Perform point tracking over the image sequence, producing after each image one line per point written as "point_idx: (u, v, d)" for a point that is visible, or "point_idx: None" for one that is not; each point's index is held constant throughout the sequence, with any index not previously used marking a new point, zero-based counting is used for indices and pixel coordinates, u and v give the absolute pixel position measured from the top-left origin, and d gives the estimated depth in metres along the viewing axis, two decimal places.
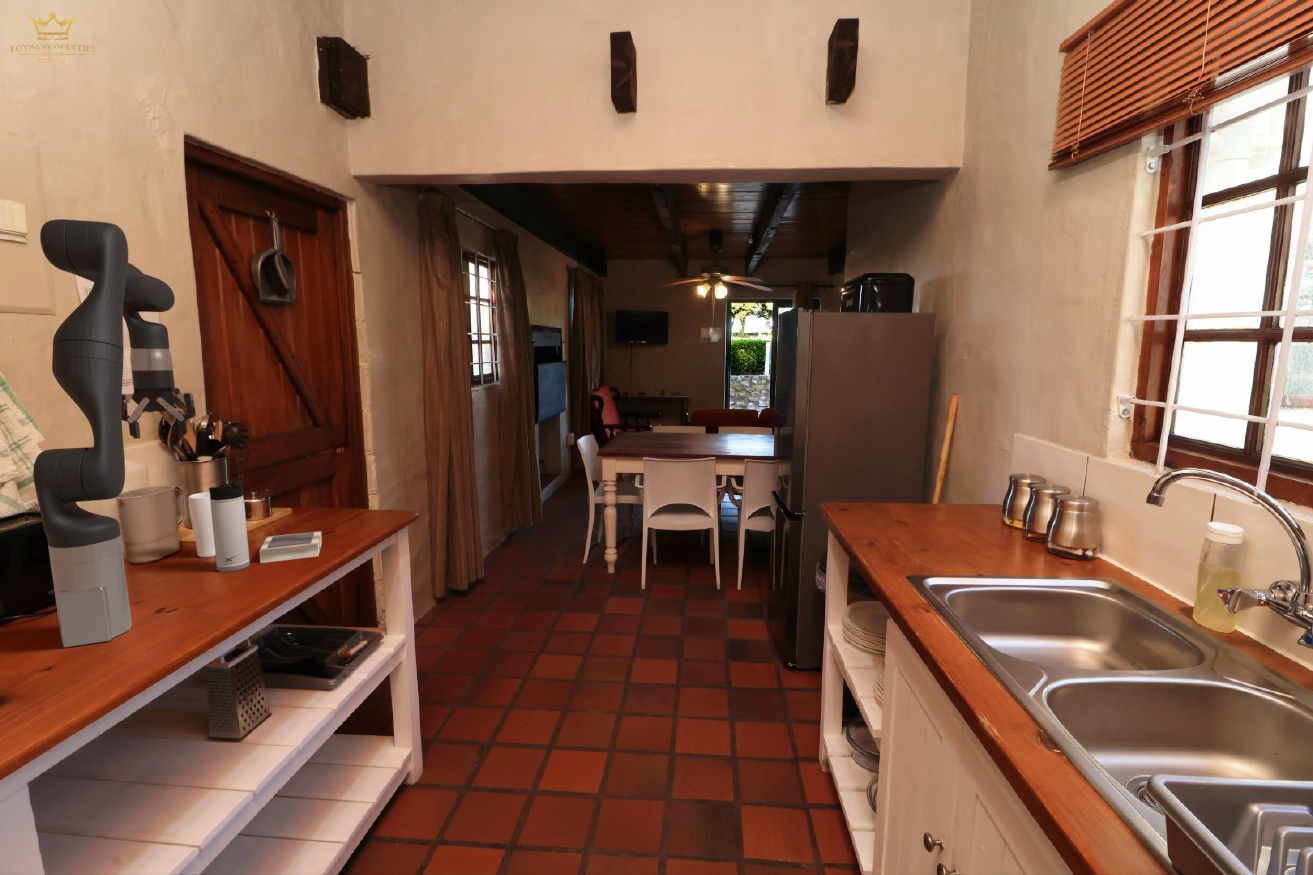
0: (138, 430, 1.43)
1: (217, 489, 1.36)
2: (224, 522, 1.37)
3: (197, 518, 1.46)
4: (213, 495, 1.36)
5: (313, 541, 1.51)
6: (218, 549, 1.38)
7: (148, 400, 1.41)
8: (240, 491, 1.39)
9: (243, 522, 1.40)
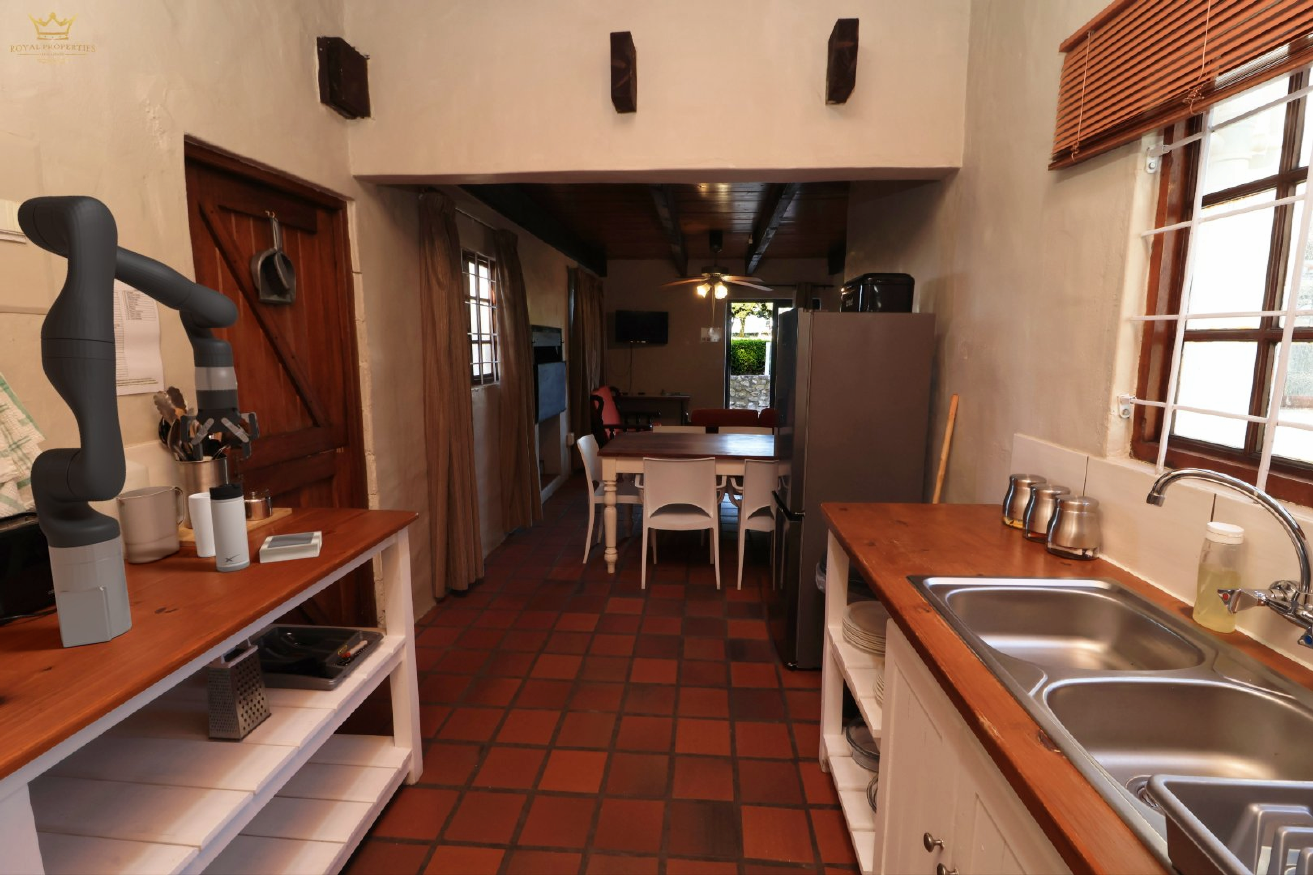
0: (201, 452, 1.36)
1: (217, 489, 1.36)
2: (224, 522, 1.37)
3: (197, 518, 1.46)
4: (213, 495, 1.36)
5: (313, 541, 1.51)
6: (218, 549, 1.38)
7: (212, 421, 1.34)
8: (240, 491, 1.39)
9: (243, 522, 1.40)
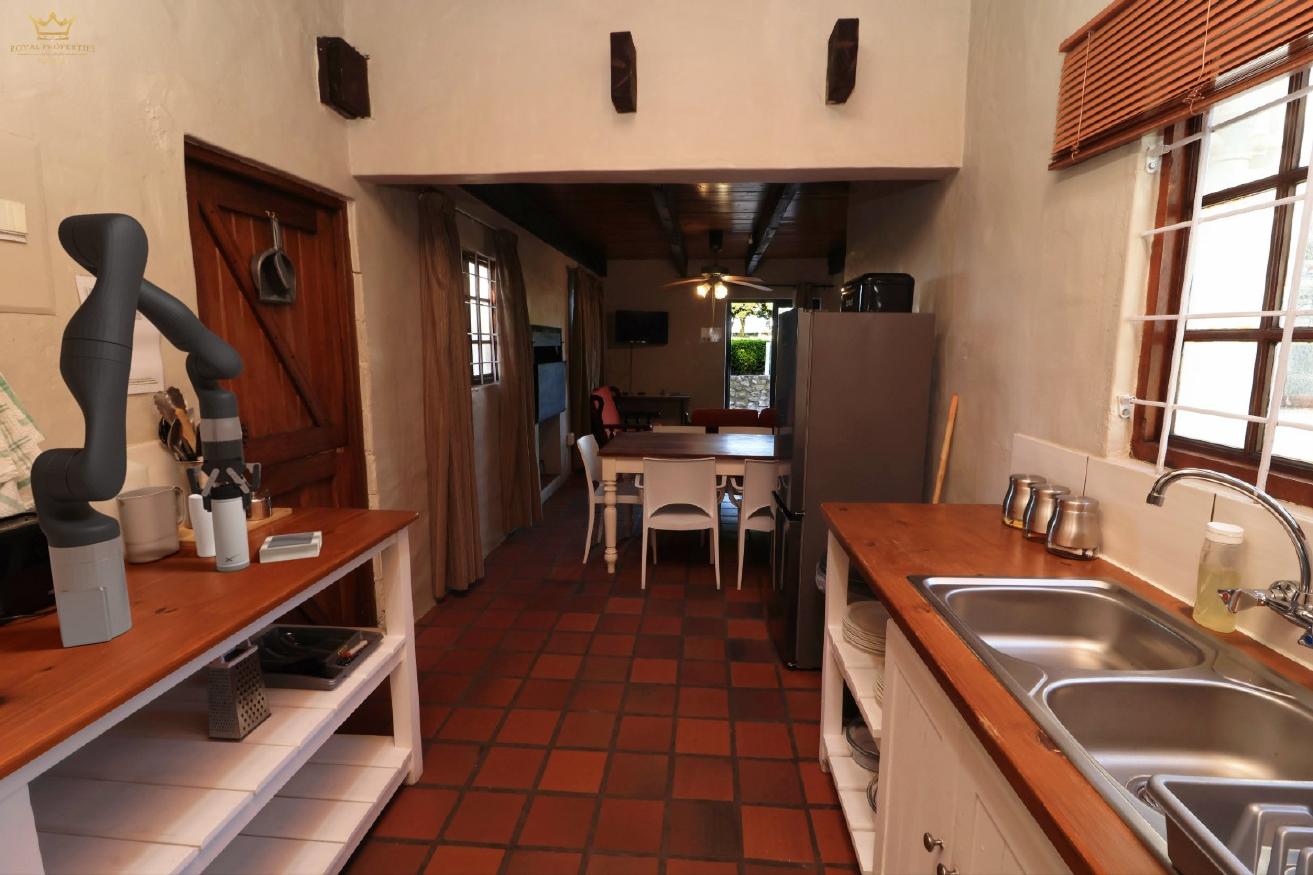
0: None
1: (218, 489, 1.36)
2: (225, 522, 1.37)
3: (197, 518, 1.46)
4: (214, 495, 1.36)
5: (313, 541, 1.51)
6: (219, 549, 1.38)
7: (218, 470, 1.36)
8: (241, 491, 1.39)
9: (243, 522, 1.40)
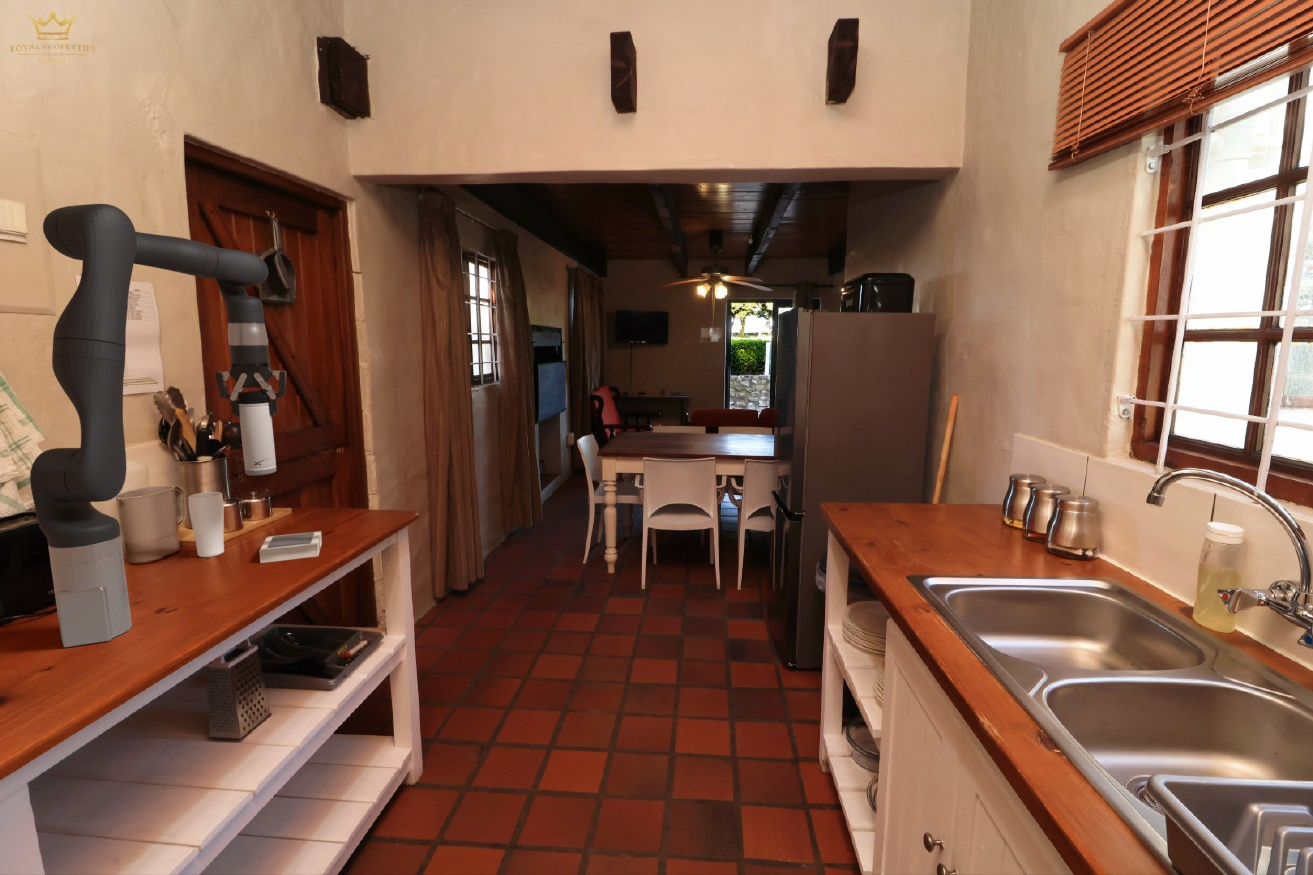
0: None
1: (246, 393, 1.39)
2: (253, 426, 1.41)
3: (197, 518, 1.46)
4: (242, 399, 1.40)
5: (313, 541, 1.51)
6: (247, 453, 1.42)
7: (245, 375, 1.39)
8: (267, 397, 1.43)
9: (270, 428, 1.44)
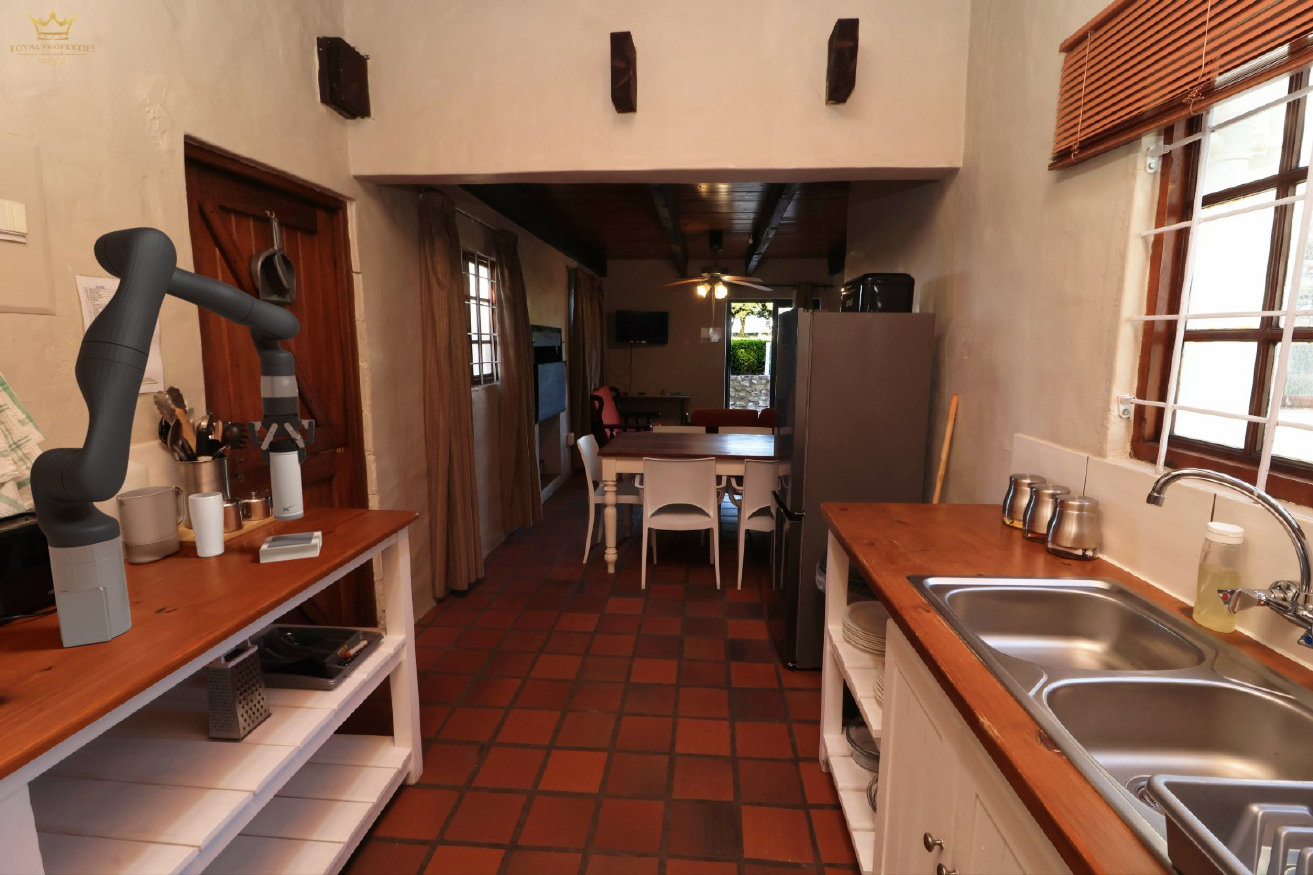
0: None
1: (276, 442, 1.45)
2: (282, 473, 1.47)
3: (197, 518, 1.46)
4: (273, 448, 1.46)
5: (313, 541, 1.51)
6: (276, 499, 1.47)
7: (276, 425, 1.46)
8: (296, 445, 1.49)
9: (299, 474, 1.50)
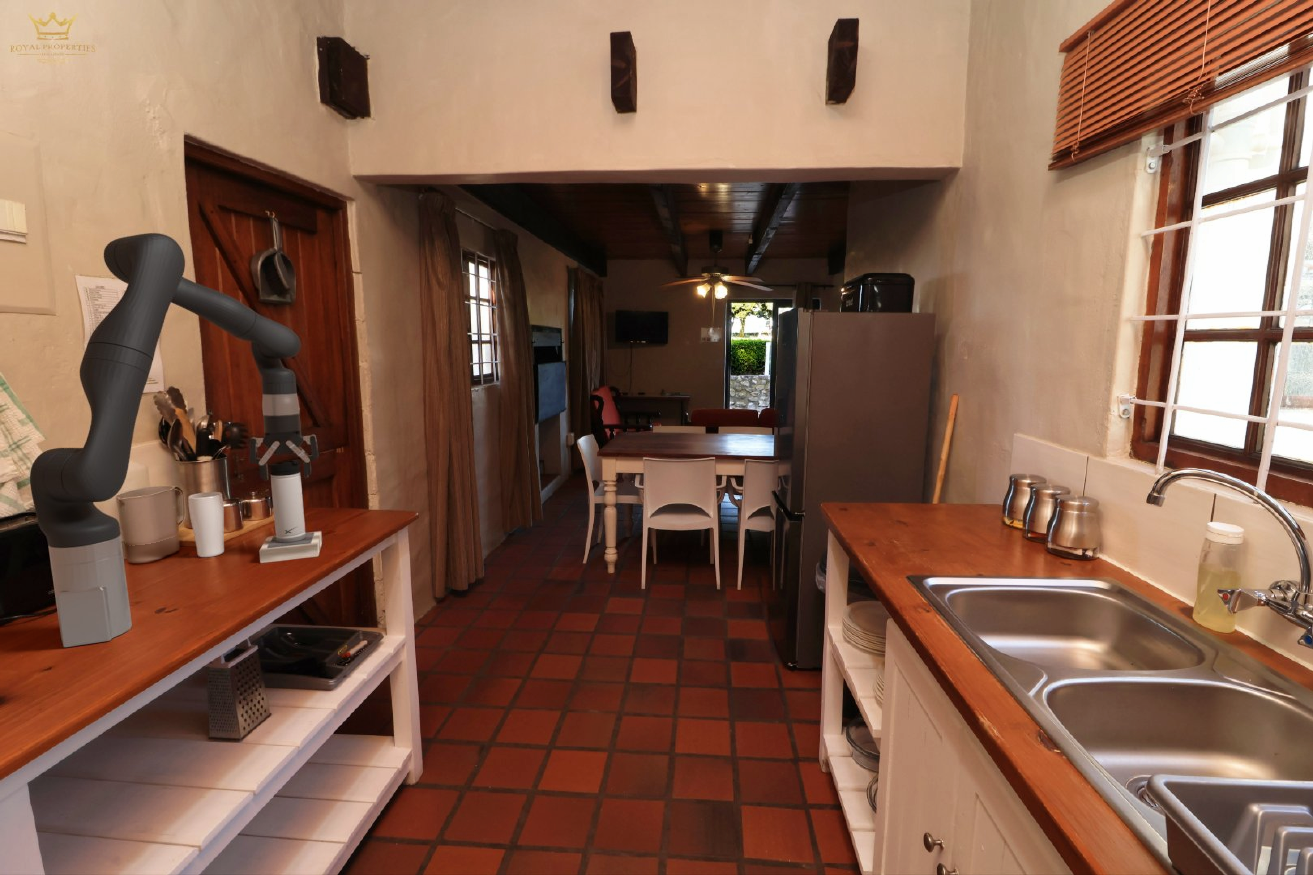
0: (267, 472, 1.48)
1: (278, 465, 1.46)
2: (284, 496, 1.47)
3: (197, 518, 1.46)
4: (274, 471, 1.46)
5: (313, 541, 1.51)
6: (278, 521, 1.48)
7: (278, 443, 1.46)
8: (298, 468, 1.49)
9: (300, 497, 1.50)
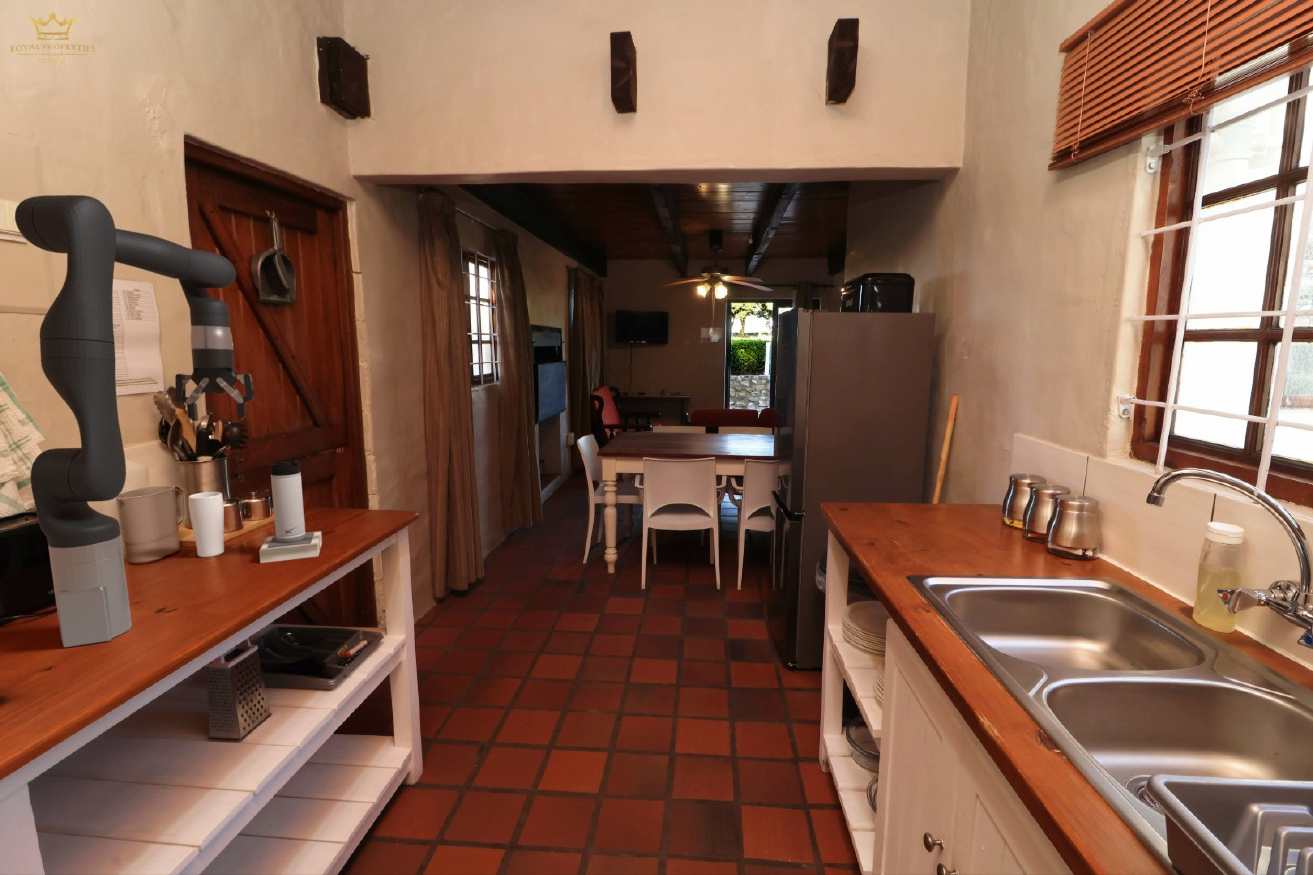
0: (196, 412, 1.36)
1: (278, 465, 1.46)
2: (284, 496, 1.47)
3: (197, 518, 1.46)
4: (274, 471, 1.46)
5: (313, 541, 1.51)
6: (279, 521, 1.48)
7: (207, 380, 1.35)
8: (298, 468, 1.50)
9: (300, 497, 1.51)
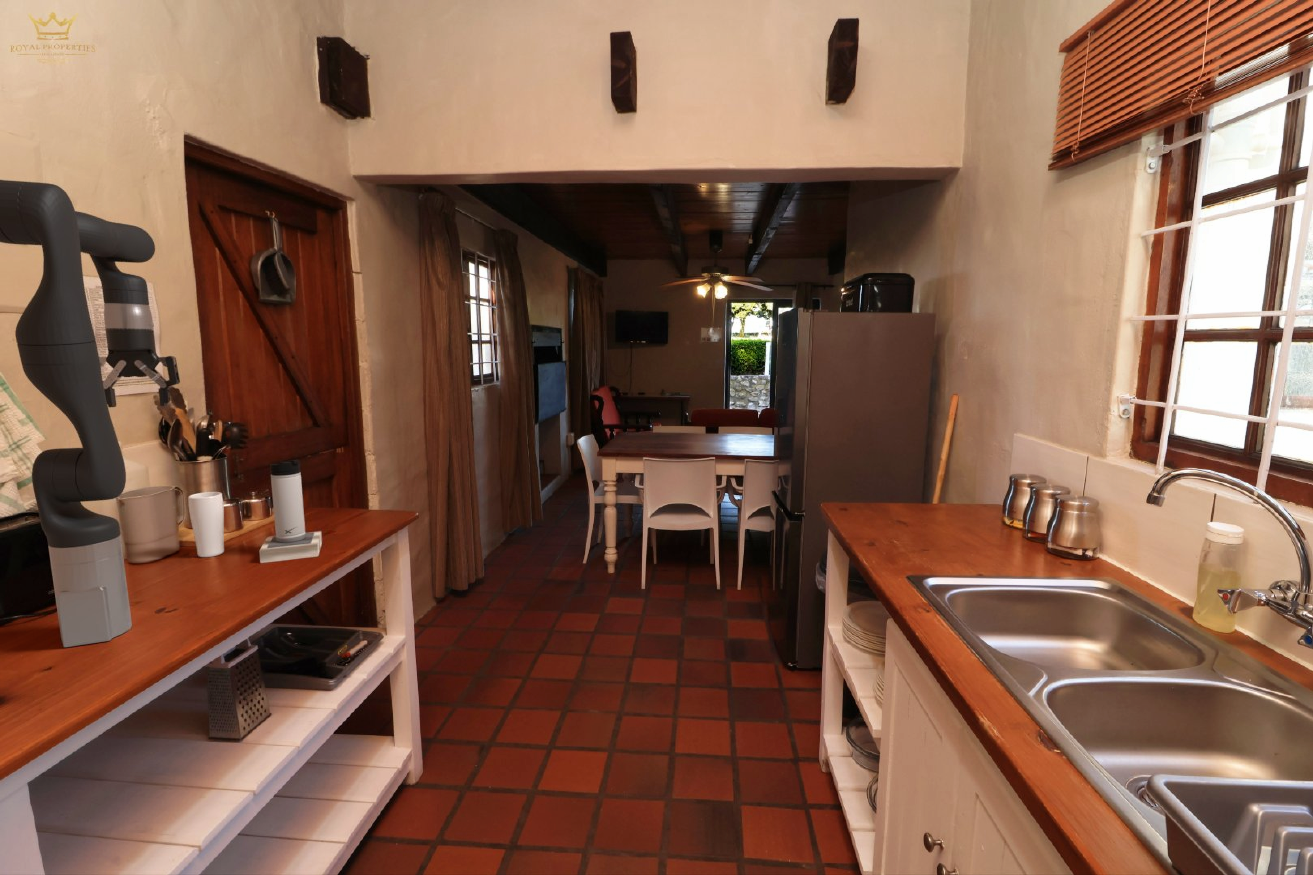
0: (113, 397, 1.25)
1: (278, 465, 1.46)
2: (284, 496, 1.47)
3: (197, 518, 1.46)
4: (274, 471, 1.46)
5: (313, 541, 1.51)
6: (279, 521, 1.48)
7: (125, 363, 1.24)
8: (298, 468, 1.50)
9: (300, 497, 1.51)
